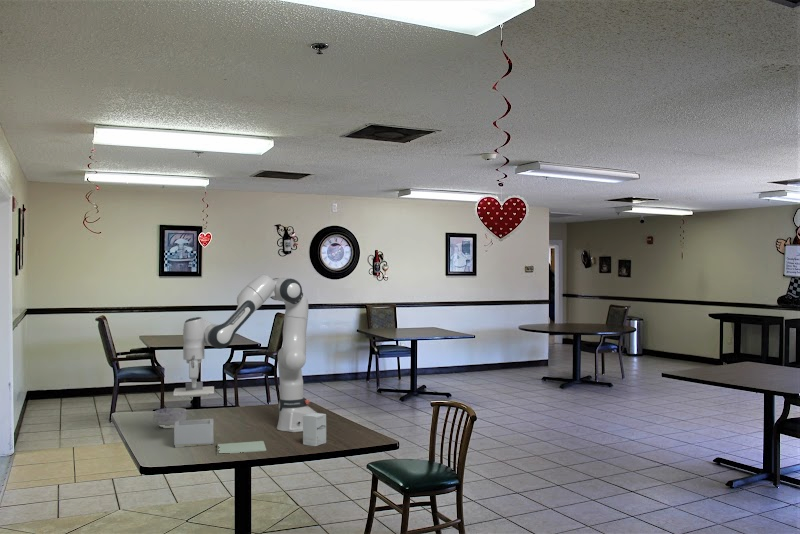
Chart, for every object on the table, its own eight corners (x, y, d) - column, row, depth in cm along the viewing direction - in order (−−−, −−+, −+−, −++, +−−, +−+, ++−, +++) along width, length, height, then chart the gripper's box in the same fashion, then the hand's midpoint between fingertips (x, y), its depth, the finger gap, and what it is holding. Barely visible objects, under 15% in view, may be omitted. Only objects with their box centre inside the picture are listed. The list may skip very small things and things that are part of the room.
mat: (263, 442, 301) (263, 440, 301) (266, 450, 285) (266, 449, 285) (215, 445, 296) (215, 444, 296) (216, 454, 280) (216, 453, 280)
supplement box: (316, 446, 292) (315, 416, 292) (302, 444, 296) (302, 415, 296) (326, 443, 298) (326, 413, 298) (313, 441, 302) (313, 412, 302)
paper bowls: (176, 430, 325) (176, 413, 326) (147, 429, 328) (147, 412, 329) (192, 424, 340) (192, 407, 340) (164, 423, 343) (164, 407, 344)
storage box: (213, 438, 308) (213, 418, 308) (213, 445, 296) (213, 424, 296) (175, 441, 304) (175, 420, 304) (174, 447, 292) (174, 426, 292)
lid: (214, 391, 309) (213, 379, 309) (214, 396, 296) (213, 383, 297) (175, 393, 304) (174, 381, 304) (173, 398, 292) (173, 385, 292)
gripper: (201, 357, 291) (201, 390, 291) (201, 352, 311) (202, 382, 311) (185, 357, 290) (185, 390, 290) (187, 352, 309) (187, 383, 309)
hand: (194, 386), depth 300 cm, fingers closed on lid, 3 cm apart
